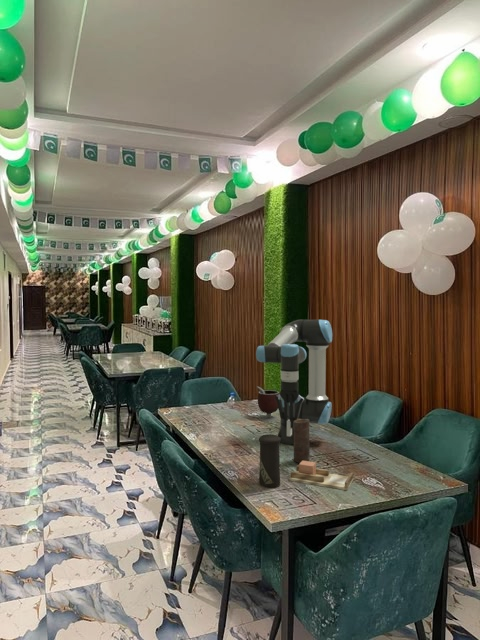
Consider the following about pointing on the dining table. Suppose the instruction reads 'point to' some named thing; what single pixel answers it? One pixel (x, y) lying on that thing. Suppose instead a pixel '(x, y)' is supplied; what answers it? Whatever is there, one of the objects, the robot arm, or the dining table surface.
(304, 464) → the block
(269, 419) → the mate gourd
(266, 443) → the container
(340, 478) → the chute
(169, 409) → the dining table surface
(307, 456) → the candle
